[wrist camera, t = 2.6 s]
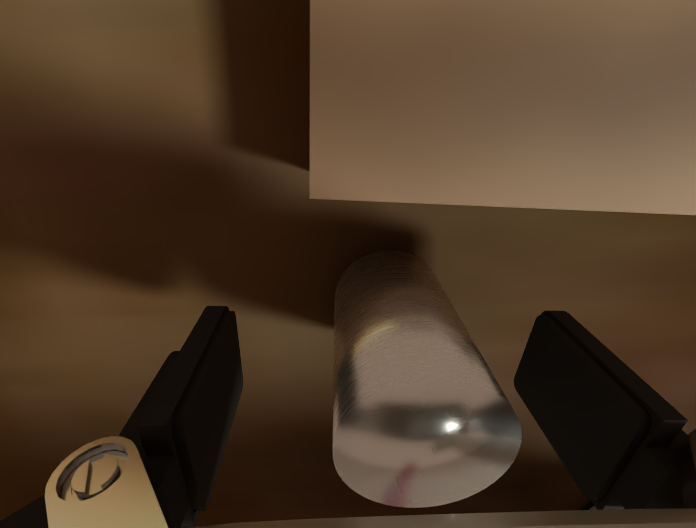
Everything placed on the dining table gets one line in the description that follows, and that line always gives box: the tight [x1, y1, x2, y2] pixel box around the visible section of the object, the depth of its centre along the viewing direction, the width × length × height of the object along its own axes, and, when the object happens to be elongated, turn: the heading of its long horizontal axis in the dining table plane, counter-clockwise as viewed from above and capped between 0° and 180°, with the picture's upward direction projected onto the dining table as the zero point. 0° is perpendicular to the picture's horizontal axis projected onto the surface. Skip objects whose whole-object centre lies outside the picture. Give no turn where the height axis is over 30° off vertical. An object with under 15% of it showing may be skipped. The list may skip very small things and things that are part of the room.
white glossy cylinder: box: [333, 250, 522, 508], centre depth 11 cm, size 4×4×7 cm
